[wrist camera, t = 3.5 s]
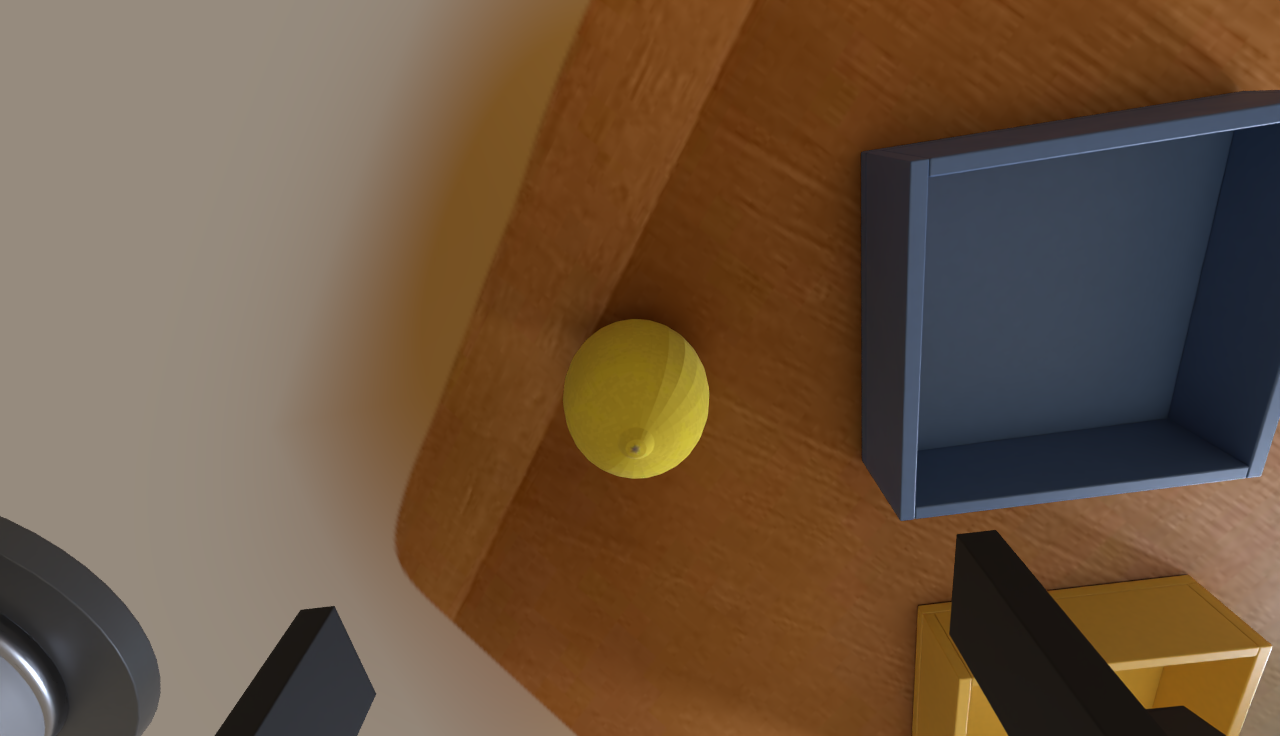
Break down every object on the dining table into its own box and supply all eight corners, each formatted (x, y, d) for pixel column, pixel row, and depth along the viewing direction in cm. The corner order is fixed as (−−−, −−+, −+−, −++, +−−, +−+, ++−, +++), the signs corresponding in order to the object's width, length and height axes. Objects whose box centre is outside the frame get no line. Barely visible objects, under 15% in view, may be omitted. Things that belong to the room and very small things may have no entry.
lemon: (639, 268, 25) (641, 336, 17) (723, 358, 26) (757, 454, 19) (547, 351, 26) (513, 445, 19) (632, 431, 28) (631, 547, 21)
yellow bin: (909, 770, 38) (943, 853, 34) (917, 605, 32) (959, 679, 28) (1139, 748, 37) (1203, 830, 33) (1188, 573, 32) (1273, 645, 27)
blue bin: (861, 460, 29) (900, 521, 24) (860, 151, 23) (910, 161, 19) (1167, 421, 28) (1261, 476, 24) (1243, 90, 22) (1385, 86, 18)
